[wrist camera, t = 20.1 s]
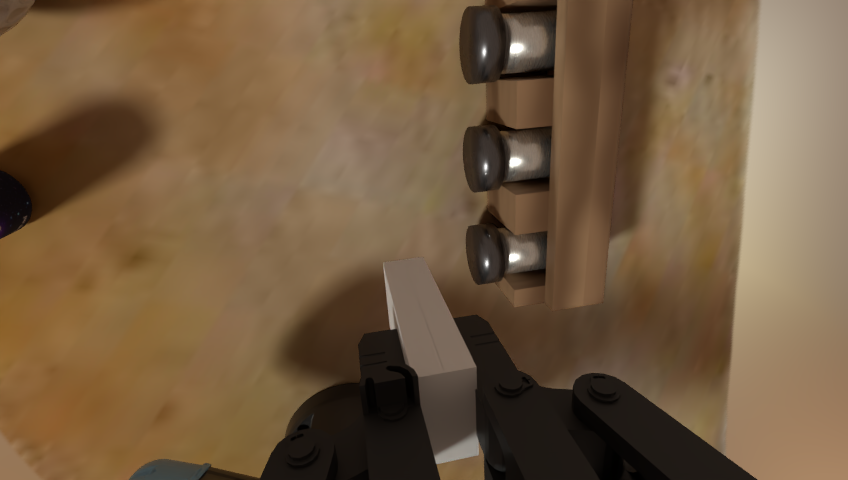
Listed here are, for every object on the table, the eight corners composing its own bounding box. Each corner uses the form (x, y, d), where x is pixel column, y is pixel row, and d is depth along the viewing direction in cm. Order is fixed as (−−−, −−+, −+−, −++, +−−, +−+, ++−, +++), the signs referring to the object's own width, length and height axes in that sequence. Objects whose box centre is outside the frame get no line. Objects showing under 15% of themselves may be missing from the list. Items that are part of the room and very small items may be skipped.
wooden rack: (488, 273, 47) (521, 316, 39) (485, -10, 37) (527, -34, 29) (557, 263, 49) (603, 302, 40) (572, -14, 39) (636, -38, 30)
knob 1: (460, 83, 38) (480, 85, 33) (458, 11, 36) (479, 1, 31) (554, 76, 39) (588, 76, 34) (557, 6, 37) (593, -5, 32)
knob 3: (466, 269, 45) (483, 295, 40) (465, 218, 43) (482, 238, 37) (547, 258, 46) (574, 281, 41) (549, 207, 44) (577, 225, 39)
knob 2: (463, 184, 41) (482, 199, 36) (462, 123, 39) (481, 131, 34) (550, 174, 43) (580, 188, 38) (553, 115, 41) (585, 121, 36)
